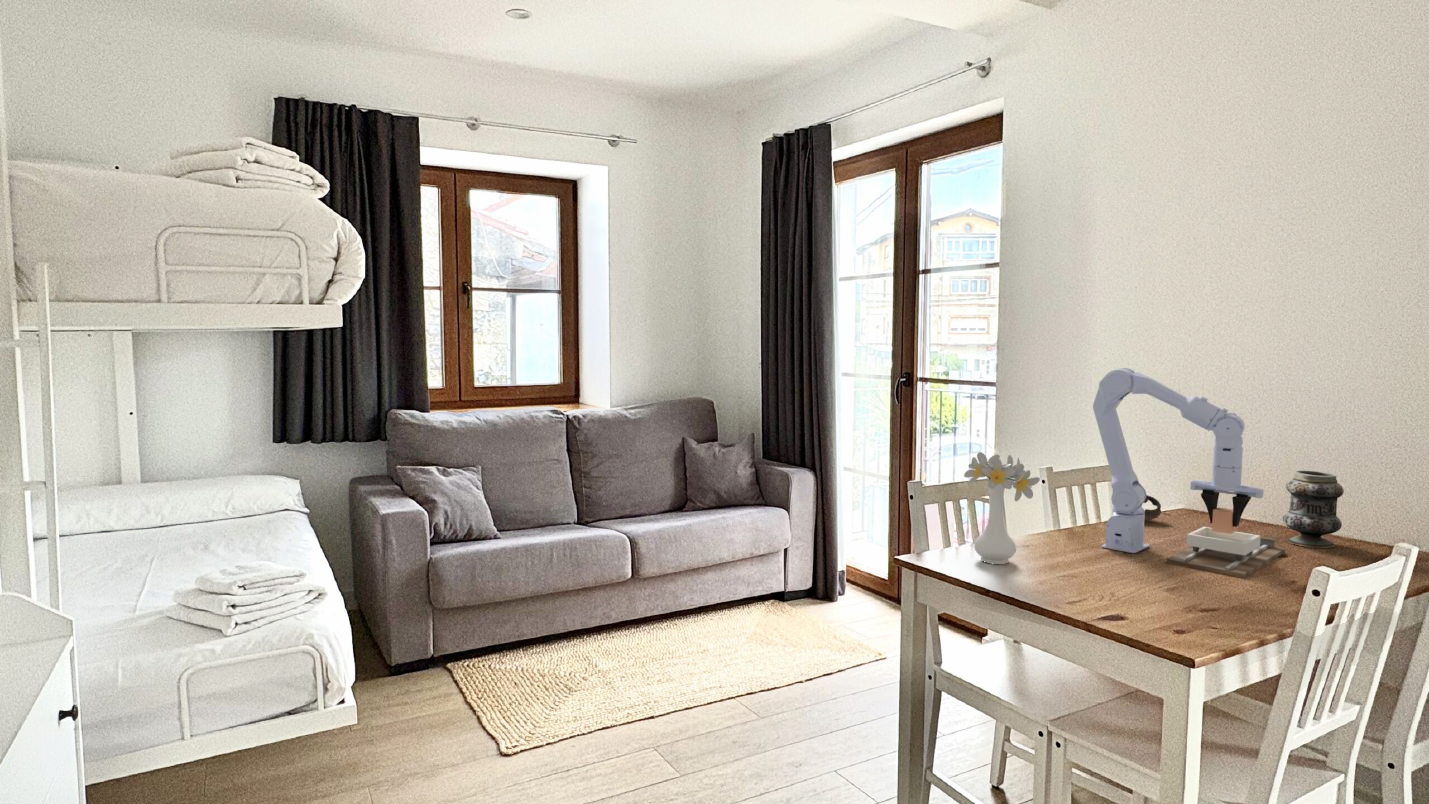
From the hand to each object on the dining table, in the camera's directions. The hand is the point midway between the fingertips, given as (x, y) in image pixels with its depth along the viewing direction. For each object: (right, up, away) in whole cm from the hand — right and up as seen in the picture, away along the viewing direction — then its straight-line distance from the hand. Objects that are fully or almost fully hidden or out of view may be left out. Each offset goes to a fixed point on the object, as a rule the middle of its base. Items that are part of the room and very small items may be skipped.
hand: (1224, 524), depth 197 cm
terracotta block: (0, -2, 0) cm, 2 cm away
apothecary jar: (+30, -7, +15) cm, 35 cm away
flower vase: (-52, -9, +1) cm, 53 cm away
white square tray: (0, -7, +1) cm, 7 cm away
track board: (+2, -8, +3) cm, 9 cm away
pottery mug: (0, -5, +42) cm, 42 cm away
